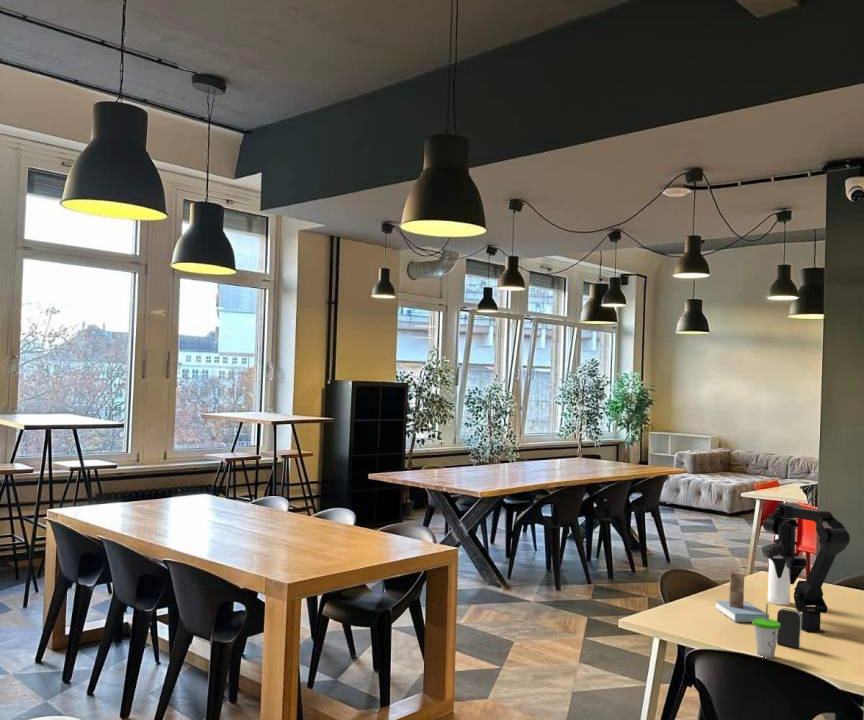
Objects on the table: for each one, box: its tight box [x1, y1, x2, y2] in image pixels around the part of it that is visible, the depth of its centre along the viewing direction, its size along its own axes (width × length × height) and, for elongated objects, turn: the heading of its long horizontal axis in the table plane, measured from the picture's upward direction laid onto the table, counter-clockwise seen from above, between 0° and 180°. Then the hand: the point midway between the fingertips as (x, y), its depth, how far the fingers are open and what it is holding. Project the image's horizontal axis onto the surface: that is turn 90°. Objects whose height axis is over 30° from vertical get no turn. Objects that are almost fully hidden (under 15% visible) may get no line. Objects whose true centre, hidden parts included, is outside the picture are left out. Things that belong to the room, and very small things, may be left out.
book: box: [715, 600, 770, 623], centre depth 279 cm, size 17×12×3 cm
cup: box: [752, 603, 781, 660], centre depth 236 cm, size 8×8×15 cm
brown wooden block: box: [728, 570, 745, 608], centre depth 281 cm, size 4×4×12 cm
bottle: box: [767, 534, 791, 606], centre depth 301 cm, size 8×8×30 cm
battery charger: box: [776, 607, 802, 649], centre depth 248 cm, size 7×4×11 cm, turn 52°
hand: (785, 581), depth 281 cm, fingers open, 9 cm apart
